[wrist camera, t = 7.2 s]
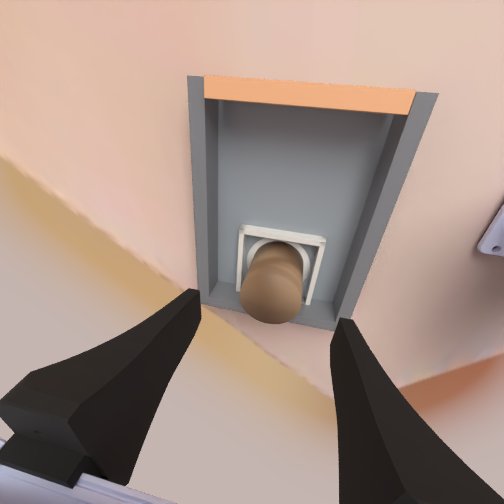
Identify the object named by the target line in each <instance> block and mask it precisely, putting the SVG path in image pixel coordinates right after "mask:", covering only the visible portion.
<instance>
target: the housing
mask: <svg viewBox="0 0 504 504" xmlns="http://www.w3.org/2000/svg"><path fill="white" fill-rule="evenodd" d="M187 83H188V103H189V122H190V142H191V162H192V181H193V201H194V221H195V240H196V260H197V280H198V290H200V302H201V304H204V305H209V306H214V307H219V308H224V309H229V310H233V311H238V312H243V313H247V312H246V311H245V310H244V309H243V307H242V305H241V303H240V298H239V294H240V290H241V287H242V285H243V282H244V280H245V277H246V275H247V272H248V270H249V267H250V265H251V262H252V260H253V257H254V255H255V253H256V251H257V249H258V248H259V247H261V246H262V245H263V244H265V243H268V242H272V241H281V242H285V243H288V244H290V245H292V246H293V247H295V248H296V249H297V250H298V251H299V252H300V254H301V256H302V258H303V283H302V303H301V309H300V311H299V313H298V314H297V316H296V317H294V318H293V319H292V320H290V321H288V322H291V323H296V324H301V325H306V326H311V327H316V328H320V329H325V330H330V331H335V330H336V327H337V324H338V321H339V318H340V317H341V318H346V319H350V318H351V315H352V313H353V310H354V308H355V305H356V303H357V300H358V298H359V295H360V292H361V290H362V287H363V285H364V282H365V280H366V277H367V275H368V272H369V270H370V267H371V265H372V262H373V259H374V257H375V254H376V252H377V249H378V247H379V244H380V242H381V239H382V237H383V234H384V232H385V229H386V227H387V224H388V221H389V219H390V216H391V214H392V211H393V209H394V206H395V204H396V201H397V199H398V196H399V194H400V191H401V188H402V186H403V183H404V181H405V178H406V176H407V173H408V171H409V168H410V166H411V163H412V161H413V158H414V155H415V153H416V150H417V148H418V145H419V143H420V140H421V138H422V135H423V133H424V130H425V128H426V125H427V122H428V120H429V117H430V115H431V112H432V110H433V107H434V105H435V102H436V100H437V97H438V95H439V93H427V92H416V93H415V96H414V99H413V101H412V104H411V107H410V110H409V113H408V115H390V114H378V113H366V112H354V111H342V110H330V109H318V108H306V107H294V106H282V105H270V104H258V103H246V102H234V101H222V100H215V99H209V98H204V77H200V76H187Z"/></svg>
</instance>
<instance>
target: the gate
mask: <svg viewBox="0 0 504 504" xmlns="http://www.w3.org/2000/svg"><path fill="white" fill-rule="evenodd" d="M415 93H416V90H410V89H396V88H381V87H367V86H353V85H338V84H324V83H309V82H295V81H280V80H266V79H252V78H237V77H223V76H208V75H204V98H209V99H215V100H222V101H234V102H246V103H258V104H270V105H282V106H294V107H306V108H318V109H330V110H342V111H354V112H366V113H378V114H390V115H408V113H409V110H410V107H411V104H412V101H413V99H414V96H415Z"/></svg>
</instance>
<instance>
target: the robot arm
mask: <svg viewBox="0 0 504 504" xmlns="http://www.w3.org/2000/svg"><path fill="white" fill-rule="evenodd" d="M495 246H497V248H496V249H492V248H493V247H495ZM477 249H478V250H479V251H480V252H482V253H484V254H491V255H498V256H504V204H503V206H502V207H501V209H500V210H499V212H498V214H497V215H496V217H495V218H494V220H493V222H492V223H491V225H490V226H489V228H488V229H487V231H486V233H485V234H484V236H483V237H482V239H481V241H480V242H479V244H478V246H477ZM200 321H201V302H200V290H195V289H190V288H189V289H187V290H186V291H185V292H183V293H182V294H181V295H179V296H178V297H177V298H175V299H174V300H173V301H171V302H170V303H169V304H167V305H166V306H165V307H163V308H162V309H161V310H159V311H158V312H156V313H155V314H153V315H152V316H150V317H149V318H147V319H146V320H144V321H143V322H141V323H140V324H138V325H137V326H135V327H133V328H131V329H130V330H128V331H126V332H125V333H123V334H121V335H119V336H117V337H115V338H113V339H111V340H109V341H107V342H105V343H103V344H101V345H99V346H97V347H95V348H92V349H90V350H88V351H85V352H83V353H81V354H79V355H76V356H73V357H71V358H69V359H66V360H63V361H61V362H58V363H55V364H52V365H49V366H47V367H44V368H41V369H38V370H35V371H32V372H30V373H29V374H28V375H27V376H25V377H24V378H23V380H21V381H20V382H19V383H18V384H17V385H16V386H15V387H14V388H13V389H11V390H10V391H9V393H7V394H6V395H5V396H4V397H3V398H2V399H1V400H0V417H1V418H2V420H3V421H4V422H5V423H6V424H7V425H8V426H9V427H10V428H11V429H12V430H13V432H14V433H15V434H13V436H12V437H11V438H10V439H9V440H8V441H5V440H4V439H2V438H0V504H176V503H173V502H170V501H167V500H164V499H161V498H158V497H155V496H152V495H149V494H146V493H143V492H140V491H137V490H134V489H131V488H128V487H125V486H126V485H127V484H128V483H129V481H130V478H131V475H132V472H133V469H134V467H135V464H136V461H137V459H138V456H139V453H140V451H141V448H142V445H143V443H144V440H145V438H146V435H147V433H148V430H149V428H150V425H151V422H152V420H153V418H154V415H155V413H156V411H157V408H158V406H159V403H160V401H161V399H162V397H163V394H164V392H165V390H166V388H167V385H168V383H169V381H170V379H171V377H172V375H173V373H174V372H175V370H176V368H177V366H178V364H179V363H180V361H181V359H182V357H183V355H184V354H185V352H186V350H187V348H188V346H189V345H190V343H191V341H192V339H193V337H194V335H195V333H196V331H197V328H198V326H199V323H200ZM330 368H331V376H332V384H333V392H334V399H335V407H336V414H337V426H338V452H339V453H338V454H339V504H504V499H503V498H502V497H501V496H500V495H498V494H497V493H496V492H495V491H494V490H493V489H492V488H491V487H490V486H489V485H488V484H487V483H485V482H484V481H483V480H482V479H481V478H480V477H479V476H478V475H477V474H476V473H475V472H474V471H473V470H471V469H470V468H469V467H468V466H467V465H466V464H465V463H464V462H463V461H462V460H461V459H460V458H459V457H458V456H457V455H456V454H455V453H454V452H453V451H452V450H451V449H450V448H449V447H448V446H447V445H446V444H445V443H444V442H443V441H442V440H441V439H440V438H439V437H438V436H437V434H435V432H434V431H433V430H432V429H431V428H430V427H429V426H428V425H427V424H426V422H425V421H424V420H423V419H422V418H421V417H420V416H419V415H418V413H417V412H416V411H415V410H414V409H413V408H412V406H411V405H410V404H409V403H408V402H407V401H406V399H405V398H404V397H403V395H402V394H401V393H400V392H399V390H398V389H397V388H396V386H395V385H394V384H393V382H392V381H391V379H390V378H389V377H388V375H387V374H386V372H385V371H384V370H383V368H382V367H381V365H380V364H379V362H378V360H377V359H376V357H375V356H374V354H373V353H372V351H371V350H370V348H369V346H368V345H367V343H366V341H365V340H364V338H363V336H362V334H361V333H360V331H359V329H358V327H357V326H356V324H355V322H354V321H353V320H352V319H346V318H341V317H340V318H339V321H338V324H337V327H336V330H335V333H334V335H333V338H332V341H331V344H330Z"/></svg>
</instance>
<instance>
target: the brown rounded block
mask: <svg viewBox="0 0 504 504" xmlns="http://www.w3.org/2000/svg"><path fill="white" fill-rule="evenodd" d="M302 283H303V258H302V256H301V254H300V252H299V251H298V250H297V249H296V248H295V247H293V246H292V245H290V244H288V243H285V242H281V241H272V242H268V243H265V244H263V245H262V246H261V247H259V248H258V249H257V251H256V253H255V255H254V257H253V260H252V262H251V265H250V267H249V270H248V272H247V275H246V277H245V280H244V282H243V285H242V287H241V290H240V294H239V298H240V303H241V305H242V307H243V309H244V310H245V311H246V312H247V313H248V314H249V315H250V316H251V317H253V318H255V319H256V320H259V321H261V322H264V323H269V324H280V323H285V322H288V321H290V320H292V319H293V318H294V317H296V316H297V314H298V313H299V311H300V309H301V303H302Z"/></svg>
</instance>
